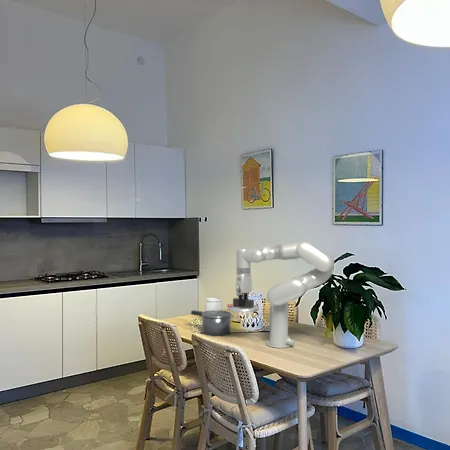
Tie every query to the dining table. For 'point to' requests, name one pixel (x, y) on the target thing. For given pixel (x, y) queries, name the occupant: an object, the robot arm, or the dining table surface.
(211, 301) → the jar
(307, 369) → the dining table surface
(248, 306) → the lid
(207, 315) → the grey saucepan
